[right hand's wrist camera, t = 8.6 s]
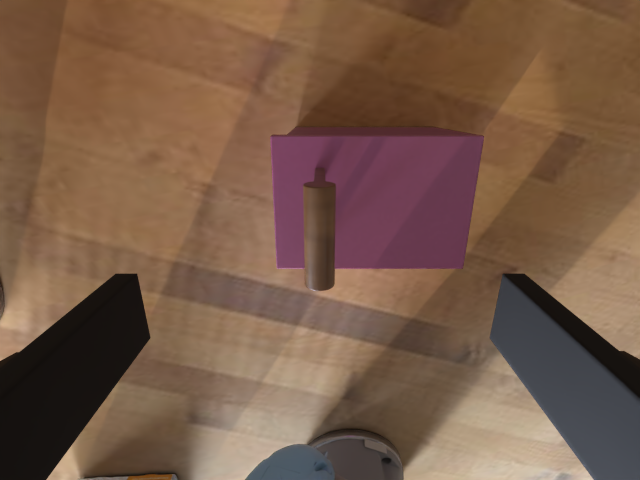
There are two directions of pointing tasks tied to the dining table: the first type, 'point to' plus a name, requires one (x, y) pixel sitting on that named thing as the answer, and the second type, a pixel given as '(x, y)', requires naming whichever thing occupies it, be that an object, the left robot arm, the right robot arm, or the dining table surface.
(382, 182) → the lid
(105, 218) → the dining table surface
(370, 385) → the dining table surface
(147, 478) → the hard drive box
